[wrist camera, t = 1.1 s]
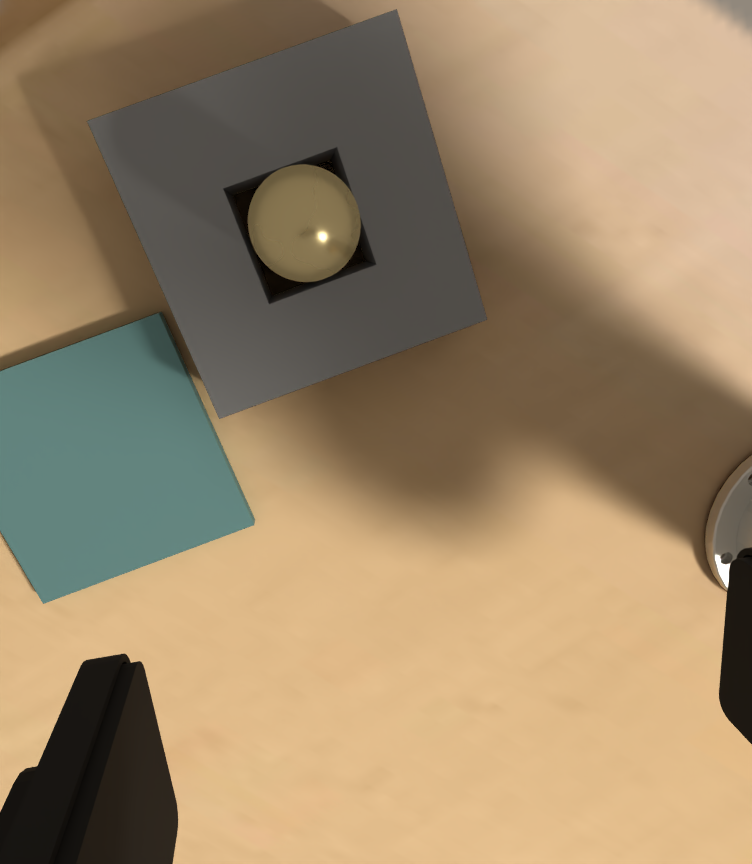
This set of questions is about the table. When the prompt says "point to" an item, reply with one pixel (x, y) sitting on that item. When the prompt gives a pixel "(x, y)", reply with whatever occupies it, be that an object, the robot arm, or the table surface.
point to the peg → (304, 223)
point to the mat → (109, 460)
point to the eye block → (247, 168)
